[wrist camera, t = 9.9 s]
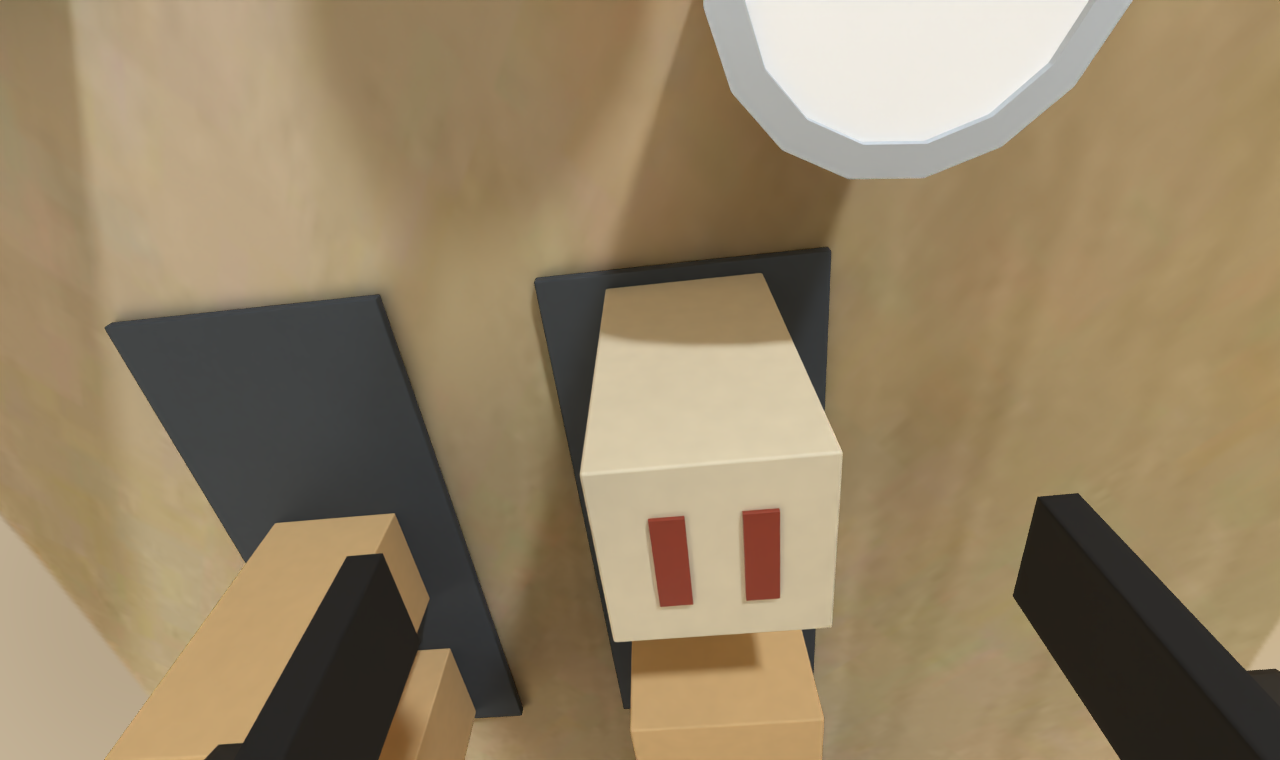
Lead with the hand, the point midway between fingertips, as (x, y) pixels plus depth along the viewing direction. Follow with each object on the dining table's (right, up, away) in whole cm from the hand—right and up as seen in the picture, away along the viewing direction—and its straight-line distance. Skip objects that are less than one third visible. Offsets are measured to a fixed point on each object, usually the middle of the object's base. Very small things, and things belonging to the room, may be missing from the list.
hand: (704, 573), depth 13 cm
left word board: (-13, -3, +13) cm, 18 cm away
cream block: (0, +5, +7) cm, 9 cm away
